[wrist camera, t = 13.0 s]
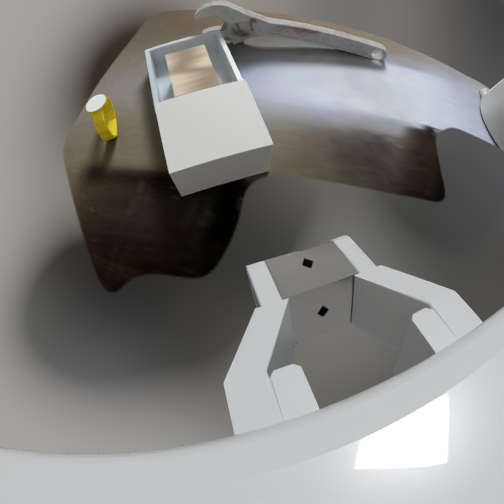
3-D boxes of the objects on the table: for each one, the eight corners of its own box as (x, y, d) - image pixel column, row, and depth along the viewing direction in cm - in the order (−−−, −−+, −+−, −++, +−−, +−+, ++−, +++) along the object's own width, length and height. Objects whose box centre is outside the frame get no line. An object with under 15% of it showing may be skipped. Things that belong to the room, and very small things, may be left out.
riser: (244, 110, 34) (245, 79, 28) (268, 171, 32) (273, 144, 26) (166, 132, 33) (154, 103, 27) (181, 196, 31) (169, 173, 26)
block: (222, 110, 33) (207, 70, 34) (219, 84, 28) (204, 44, 29) (182, 121, 32) (172, 79, 34) (175, 96, 28) (164, 55, 29)
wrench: (376, 72, 40) (193, 45, 35) (373, 65, 40) (195, 38, 36) (397, 43, 32) (194, 5, 27) (394, 36, 32) (196, -1, 28)
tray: (220, 49, 36) (219, 30, 32) (246, 109, 34) (247, 89, 30) (151, 68, 35) (144, 50, 31) (163, 132, 33) (155, 114, 29)
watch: (103, 117, 34) (87, 90, 28) (121, 110, 34) (106, 82, 28) (103, 150, 32) (84, 123, 26) (123, 142, 32) (105, 114, 27)
